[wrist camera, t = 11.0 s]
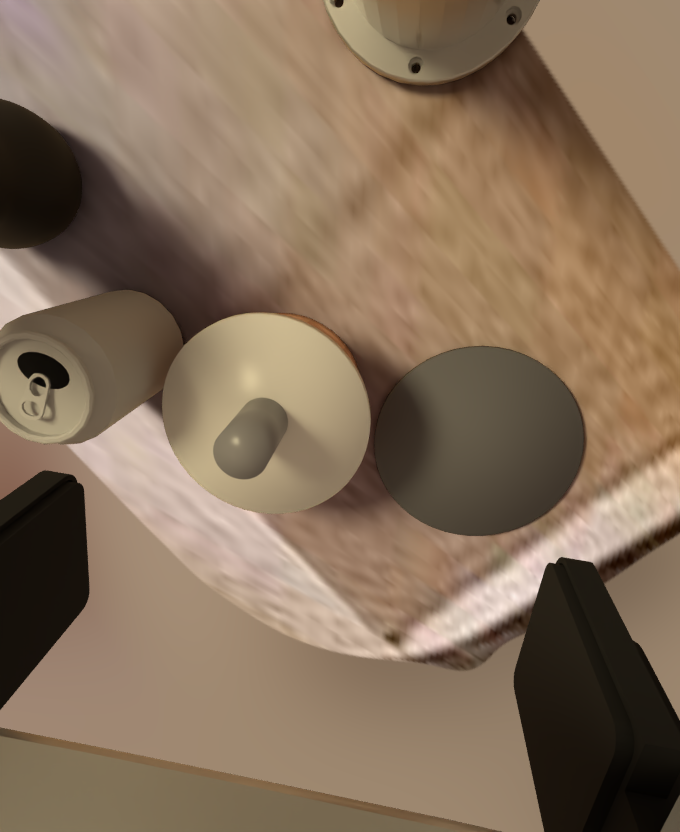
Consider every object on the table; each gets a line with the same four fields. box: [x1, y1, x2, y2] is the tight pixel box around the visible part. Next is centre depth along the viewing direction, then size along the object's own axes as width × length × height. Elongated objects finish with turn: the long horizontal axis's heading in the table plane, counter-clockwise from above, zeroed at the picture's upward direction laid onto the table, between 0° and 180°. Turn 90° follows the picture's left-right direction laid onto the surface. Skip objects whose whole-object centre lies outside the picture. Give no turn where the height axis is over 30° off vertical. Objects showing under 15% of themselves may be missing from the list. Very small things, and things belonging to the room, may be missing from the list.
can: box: [0, 290, 184, 444], centre depth 35 cm, size 8×8×12 cm
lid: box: [162, 312, 371, 514], centre depth 32 cm, size 13×13×6 cm
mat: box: [374, 346, 584, 536], centre depth 40 cm, size 14×14×1 cm
